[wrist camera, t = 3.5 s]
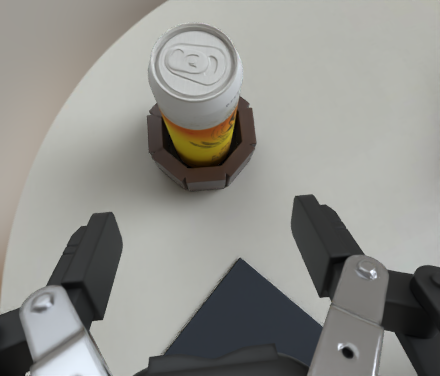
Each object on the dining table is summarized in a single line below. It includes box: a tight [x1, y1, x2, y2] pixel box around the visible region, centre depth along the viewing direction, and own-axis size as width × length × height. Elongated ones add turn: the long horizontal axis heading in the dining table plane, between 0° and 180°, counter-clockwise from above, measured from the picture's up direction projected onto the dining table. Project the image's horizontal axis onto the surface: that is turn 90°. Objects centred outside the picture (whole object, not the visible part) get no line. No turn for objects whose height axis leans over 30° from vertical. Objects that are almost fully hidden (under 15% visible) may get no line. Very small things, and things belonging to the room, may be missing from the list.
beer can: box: [148, 22, 243, 168], centre depth 24 cm, size 6×6×15 cm
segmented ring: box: [147, 96, 256, 191], centre depth 29 cm, size 10×10×4 cm
